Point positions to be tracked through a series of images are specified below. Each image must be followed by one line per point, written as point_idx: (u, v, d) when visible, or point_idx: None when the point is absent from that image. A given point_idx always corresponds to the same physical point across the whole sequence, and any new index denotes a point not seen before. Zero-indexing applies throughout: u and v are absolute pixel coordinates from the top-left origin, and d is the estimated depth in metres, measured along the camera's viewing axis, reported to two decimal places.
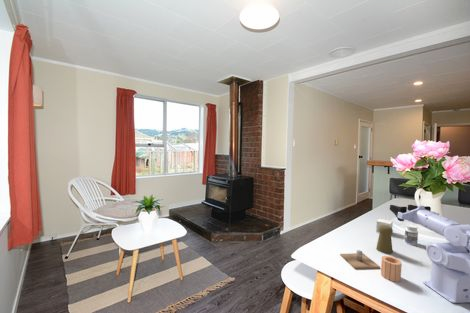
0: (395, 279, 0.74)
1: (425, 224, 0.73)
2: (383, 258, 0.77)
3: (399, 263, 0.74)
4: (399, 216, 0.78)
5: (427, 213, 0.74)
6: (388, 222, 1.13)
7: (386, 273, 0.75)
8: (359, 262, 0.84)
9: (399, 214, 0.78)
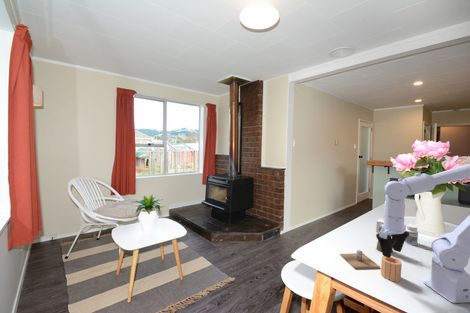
0: (395, 279, 0.74)
1: (398, 217, 0.72)
2: (383, 258, 0.77)
3: (399, 263, 0.74)
4: (383, 235, 0.71)
5: None
6: None
7: (386, 273, 0.75)
8: (359, 262, 0.84)
9: (381, 235, 0.72)
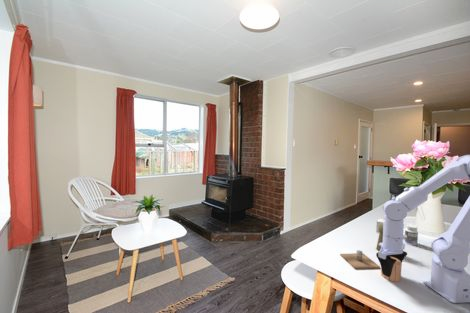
0: (395, 279, 0.74)
1: (396, 238, 0.73)
2: None
3: (399, 263, 0.74)
4: (382, 256, 0.72)
5: None
6: None
7: None
8: (359, 262, 0.84)
9: (380, 255, 0.72)
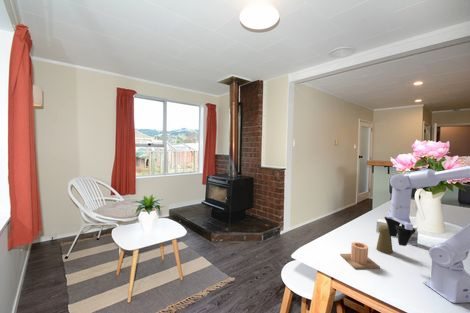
0: (366, 261, 0.84)
1: (398, 206, 0.79)
2: (355, 246, 0.85)
3: (366, 246, 0.85)
4: (410, 227, 0.74)
5: (393, 208, 0.80)
6: None
7: (361, 258, 0.83)
8: None
9: (408, 227, 0.74)
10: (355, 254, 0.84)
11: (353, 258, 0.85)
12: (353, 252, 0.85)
